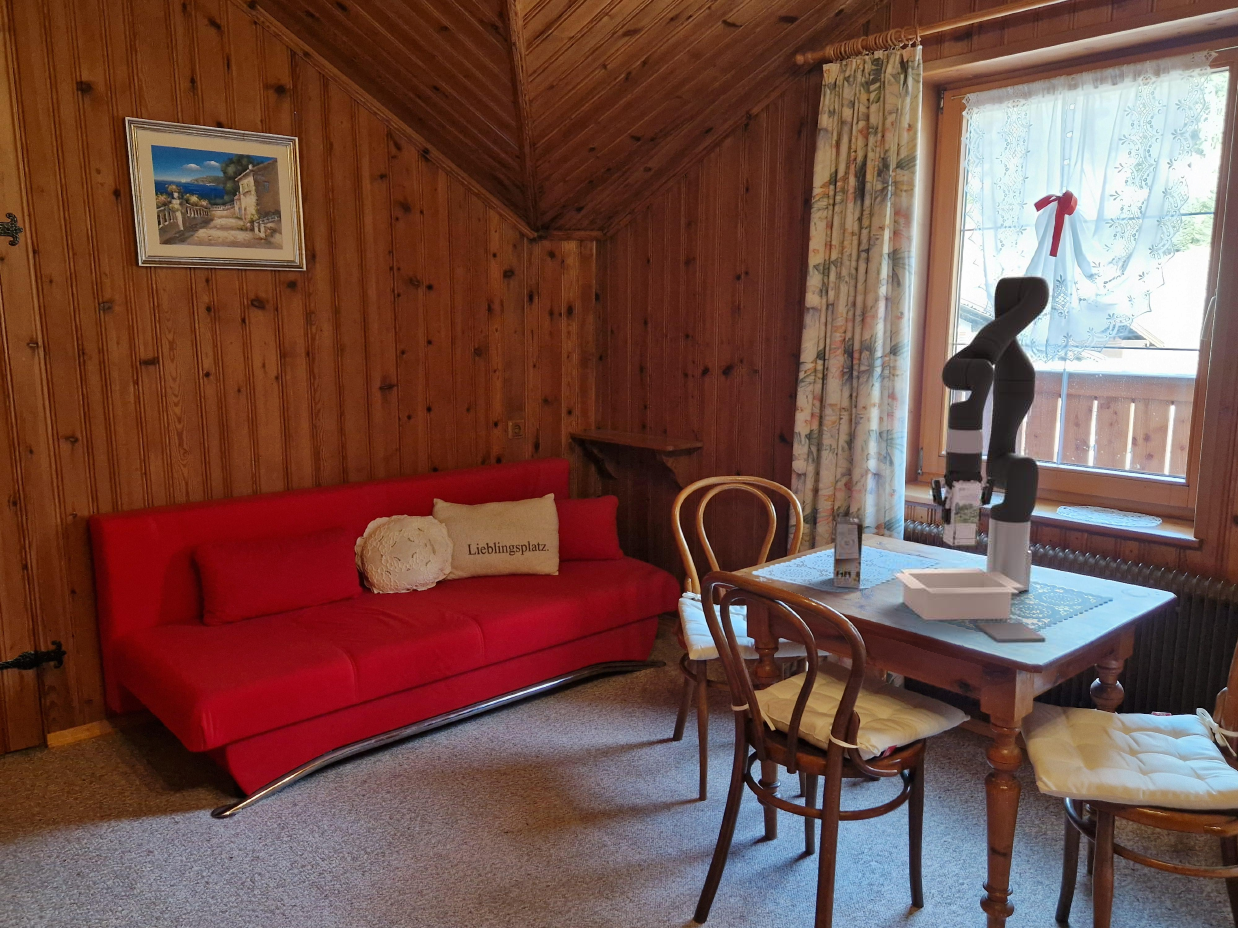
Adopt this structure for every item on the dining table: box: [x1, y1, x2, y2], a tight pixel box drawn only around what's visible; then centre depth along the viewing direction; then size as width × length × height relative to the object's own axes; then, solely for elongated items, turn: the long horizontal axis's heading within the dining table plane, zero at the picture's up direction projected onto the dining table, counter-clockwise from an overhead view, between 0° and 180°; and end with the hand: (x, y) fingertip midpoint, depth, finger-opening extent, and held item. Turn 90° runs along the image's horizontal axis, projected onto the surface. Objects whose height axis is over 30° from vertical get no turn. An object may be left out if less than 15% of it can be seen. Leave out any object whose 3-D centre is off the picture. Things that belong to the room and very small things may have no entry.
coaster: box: [975, 621, 1046, 643], centre depth 192 cm, size 10×10×1 cm
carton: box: [892, 567, 1024, 621], centre depth 207 cm, size 25×19×7 cm
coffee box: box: [833, 516, 864, 589], centre depth 228 cm, size 9×6×16 cm
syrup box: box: [942, 481, 982, 547], centre depth 204 cm, size 6×6×14 cm
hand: (960, 523), depth 205 cm, fingers closed on syrup box, 5 cm apart
